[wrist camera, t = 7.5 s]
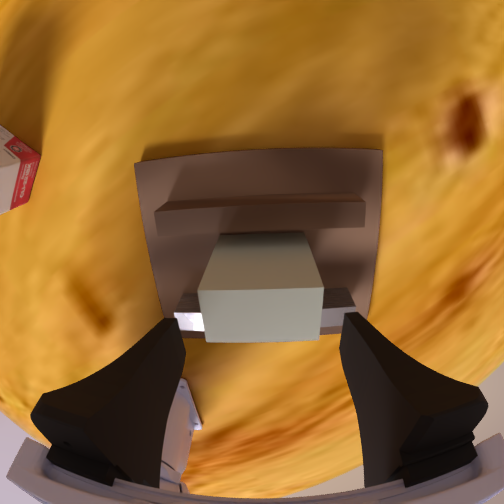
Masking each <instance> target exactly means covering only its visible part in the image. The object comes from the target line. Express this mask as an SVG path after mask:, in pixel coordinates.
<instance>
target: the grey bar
mask: <svg viewBox="0 0 504 504" xmlns="http://www.w3.org/2000/svg"><path fill="white" fill-rule="evenodd" d="M355 311H356V305H355V303H354V301H353V299H352V296H351V294H350V292H349V290H348V288H347V287H345V288H329V289H324V292H323V304H322V315H321V325H320V327H331V326H343V319H344V313H348V312H355ZM174 315H175V318H177V319H178V324H179V328H180V330H186V331H204V327H203V321H202V315H201V310H200V304H199V298H198V293H183V294H182V296H181V298H180V301H179V303H178V305H177V307H176V309H175V312H174Z"/></svg>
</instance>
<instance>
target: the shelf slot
mask: <svg viewBox="0 0 504 504" xmlns="http://www.w3.org/2000/svg"><path fill="white" fill-rule="evenodd" d="M134 168H135V175H136V182H137V189H138V196H139V202H140V208H141V214H142V220H143V226H144V231H145V236H146V241H147V246H148V251H149V256H150V261H151V265H152V270H153V274H154V279H155V283H156V287H157V291H158V295H159V299H160V303H161V307H162V311H163V315H164V318H175V315H174V312H175V309H176V307H177V305H178V303H179V301H180V298H181V296H182V294H183V293H198V292H197V290H198V287H199V285H200V282H201V280H202V277H203V275H204V272H205V270H206V267H207V265H208V262H209V260H210V257H211V255H212V252H213V250H214V248H215V245H216V243H217V240H218V238H219V235H238V234H268V233H302V232H304V233H305V236H306V239H307V241H308V244H309V247H310V249H311V252H312V255H313V258H314V260H315V263H316V266H317V269H318V272H319V275H320V277H321V280H322V283H323V286H324V289H329V288H345V287H347V288H348V290H349V292H350V294H351V296H352V299H353V301H354V303H355V305H356V311H355V312H359V313H360V314H361V315H362V316H363V317H364V318H365V319H366V320H367V316H368V310H369V304H370V298H371V292H372V285H373V279H374V271H375V264H376V255H377V246H378V236H379V225H380V212H381V195H382V168H383V150H378V149H360V148H274V149H253V150H238V151H225V152H213V153H203V154H194V155H185V156H177V157H169V158H162V159H155V160H148V161H142V162H137V163H134ZM180 332H181V335H182V338H206V337H205V332H204V331H186V330H180ZM339 333H342V326H331V327H320V335H327V334H339Z"/></svg>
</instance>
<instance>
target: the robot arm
mask: <svg viewBox="0 0 504 504" xmlns="http://www.w3.org/2000/svg"><path fill="white" fill-rule="evenodd" d="M339 350H340V356H341V361H342V366H343V370H344V373H345V377H346V380H347V383H348V386H349V389H350V392H351V396H352V399H353V402H354V405H355V409H356V413H357V418H358V424H359V430H360V437H361V445H362V454H363V465H364V486H365V488H362V489H357V490H352V491H346V492H340V493H333V494H325V495H317V496H307V497H294V498H270V499H250V498H226V497H213V496H203V495H195V494H190V492H189V490H188V488H187V486H186V484H185V483H183V482H180V479H181V474H182V473H183V472H184V470H185V468H186V465H187V460H188V456H189V451H190V446H191V441H192V436H193V431H194V430H201V429H202V424H201V421H200V418H199V416H198V413H197V410H196V407H195V404H194V401H193V398H192V396H191V393H190V390H189V387H188V384H187V381H186V380H185V379H183V378H181V375H182V372H183V367H184V362H185V356H186V351H185V347H184V343H183V339H182V335H181V332H180V328H179V324H178V319H177V318H164V319H163V320H161V321H160V322H159V323H158V324H157V325H156V326H155V327H154V328H153V329H151V330H150V331H149V332H148V333H147V334H146V335H145V336H144V337H143V338H142V339H140V340H139V341H138V342H137V343H136V344H135V345H134V346H132V347H131V348H130V349H129V350H127V351H126V352H125V353H124V354H123V355H121V356H120V357H119V358H117V359H116V360H115V361H113V362H112V363H110V364H109V365H107V366H106V367H104V368H102V369H101V370H99V371H97V372H95V373H94V374H92V375H90V376H88V377H86V378H84V379H82V380H80V381H78V382H76V383H73V384H71V385H68V386H66V387H63V388H60V389H57V390H54V391H50V392H47V393H43V394H42V396H41V398H40V399H39V401H38V402H37V404H36V406H35V407H34V409H33V411H32V412H31V414H30V416H31V420H32V422H33V423H34V425H35V426H36V427H37V429H38V430H39V431H40V432H41V433H42V434H43V435H44V436H45V437H46V438H47V439H48V441H49V442H50V443H51V444H52V446H51V448H50V449H49V448H47V447H46V446H44V445H42V444H40V443H38V442H36V441H34V440H32V439H29V438H26V439H25V440H24V443H23V444H22V446H21V448H20V450H19V452H18V454H17V456H16V457H15V459H14V461H13V463H12V465H11V467H10V470H9V472H8V474H7V476H6V477H7V479H9V480H10V481H12V482H13V483H14V484H15V485H17V486H18V487H19V488H21V489H22V490H23V491H25V492H26V493H28V494H29V495H30V496H32V497H33V498H35V499H37V500H38V501H39V502H41V503H43V504H483V503H485V502H486V501H488V500H489V499H491V498H492V497H494V496H495V495H497V494H498V493H499V492H501V491H502V490H504V439H503V437H502V435H501V433H498V434H496V435H494V436H492V437H490V438H488V439H486V440H484V441H482V442H481V443H479V444H477V445H476V446H475V447H474V445H473V443H472V441H473V440H474V439H475V436H474V434H473V432H472V431H473V430H474V428H475V427H476V426H477V425H478V423H479V422H480V421H481V420H482V418H483V417H484V415H485V414H486V411H487V409H488V403H487V401H486V399H485V397H484V395H483V394H482V392H481V391H480V389H479V387H476V386H473V385H470V384H466V383H463V382H460V381H457V380H454V379H452V378H449V377H447V376H444V375H442V374H440V373H438V372H436V371H434V370H432V369H430V368H428V367H426V366H424V365H423V364H421V363H419V362H418V361H416V360H415V359H413V358H412V357H410V356H409V355H407V354H406V353H404V352H403V351H402V350H400V349H399V348H398V347H396V346H395V345H394V344H393V343H391V342H390V341H389V340H388V339H387V338H386V337H384V336H383V335H382V334H381V333H380V332H379V331H378V330H377V329H376V328H375V327H374V326H372V325H371V324H370V323H369V322H368V321H367V320H366V319H365V318H364V317H363V316H362V315H361V314H360V313H359V312H348V313H344V319H343V326H342V333H341V340H340V347H339Z"/></svg>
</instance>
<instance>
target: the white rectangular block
mask: <svg viewBox="0 0 504 504" xmlns="http://www.w3.org/2000/svg"><path fill="white" fill-rule="evenodd" d="M197 292H198V298H199V304H200V310H201V315H202V321H203V327H204V332H205V337H206V342H222V343H252V342H290V341H310V340H319V335H320V325H321V315H322V304H323V292H324V286H323V283H322V280H321V277H320V275H319V272H318V269H317V266H316V263H315V260H314V258H313V255H312V252H311V249H310V247H309V244H308V241H307V239H306V236H305V233H304V232H302V233H268V234H238V235H219V238H218V240H217V243H216V245H215V248H214V250H213V252H212V255H211V257H210V260H209V262H208V265H207V267H206V270H205V272H204V275H203V277H202V280H201V282H200V285H199V287H198V290H197Z"/></svg>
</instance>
